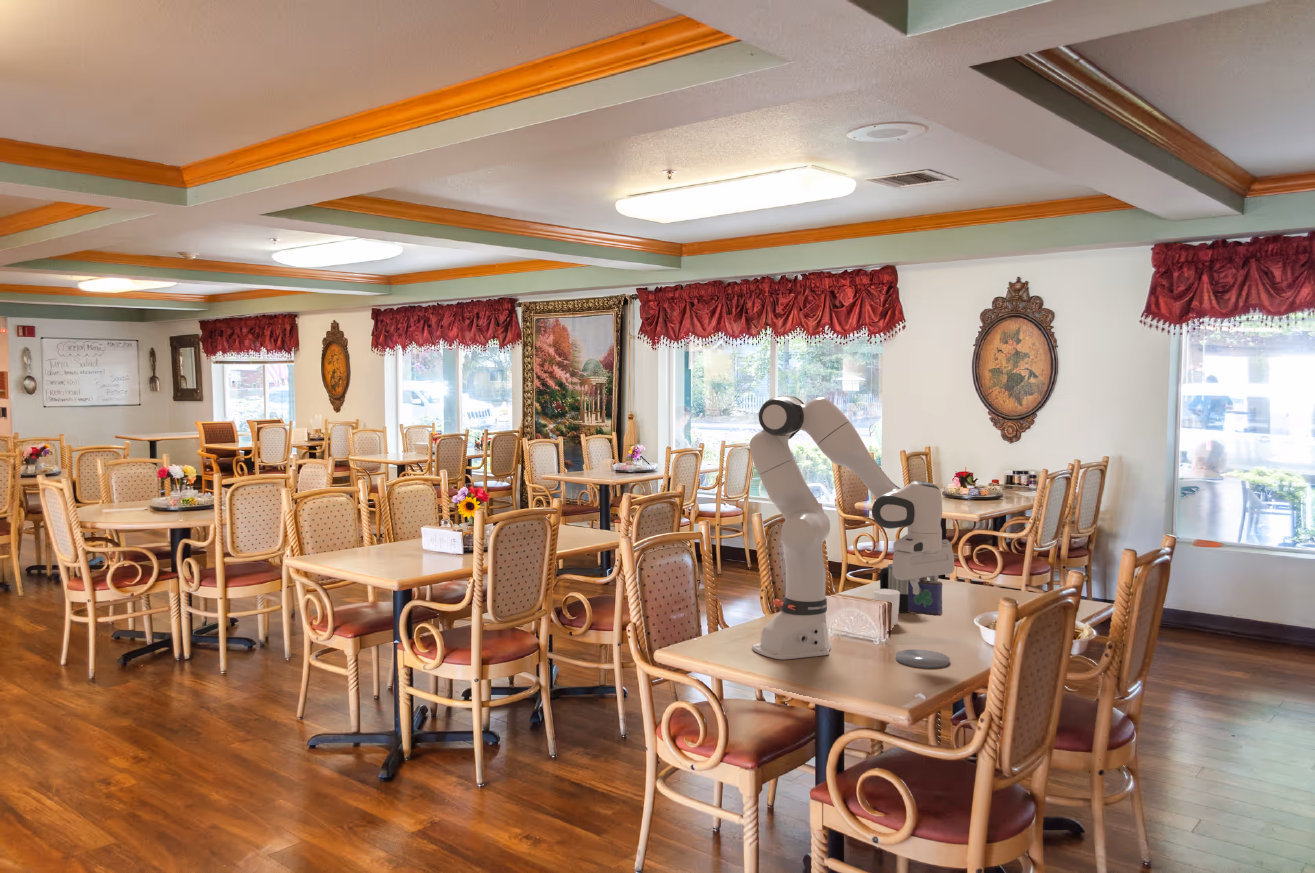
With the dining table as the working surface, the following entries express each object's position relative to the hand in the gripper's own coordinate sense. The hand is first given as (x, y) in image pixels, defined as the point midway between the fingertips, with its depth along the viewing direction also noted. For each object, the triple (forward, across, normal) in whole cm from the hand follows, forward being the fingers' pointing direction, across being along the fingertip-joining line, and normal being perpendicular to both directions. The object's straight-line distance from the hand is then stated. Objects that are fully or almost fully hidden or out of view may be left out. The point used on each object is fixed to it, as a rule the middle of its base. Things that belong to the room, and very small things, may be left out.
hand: (923, 593), depth 247 cm
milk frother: (+19, -34, -46) cm, 60 cm away
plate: (+18, 0, 0) cm, 18 cm away
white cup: (+18, -21, -34) cm, 44 cm away
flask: (+6, 0, 0) cm, 6 cm away
